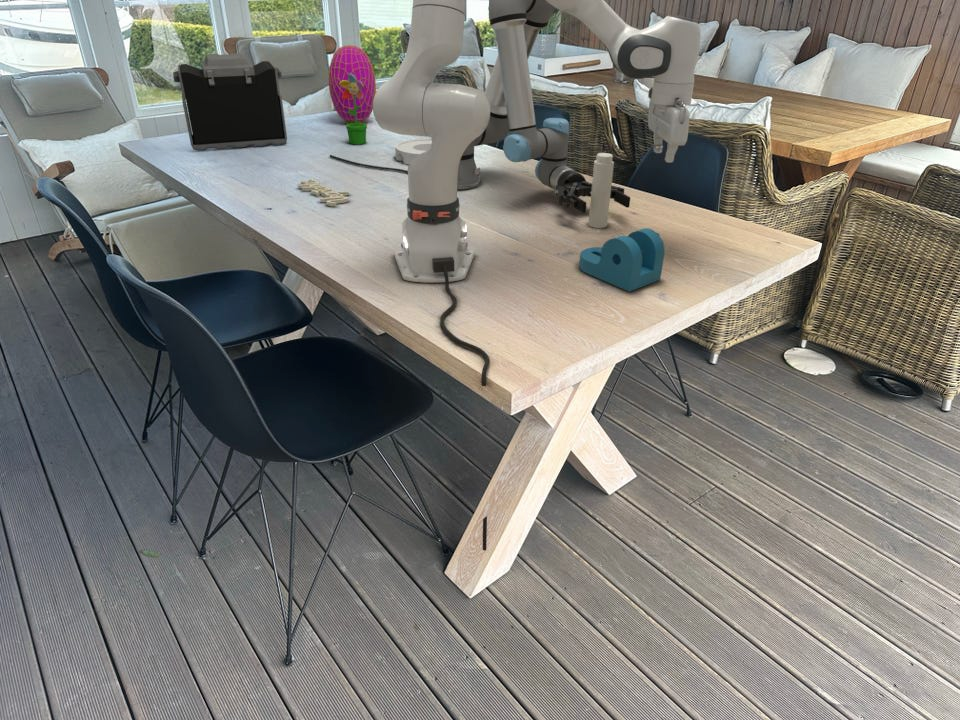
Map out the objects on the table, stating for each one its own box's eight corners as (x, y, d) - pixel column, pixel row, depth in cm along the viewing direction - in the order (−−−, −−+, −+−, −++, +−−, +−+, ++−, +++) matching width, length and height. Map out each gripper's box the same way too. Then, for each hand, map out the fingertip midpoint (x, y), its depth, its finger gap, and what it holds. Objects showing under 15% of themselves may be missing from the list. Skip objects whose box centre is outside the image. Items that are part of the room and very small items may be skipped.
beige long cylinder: (607, 228, 183) (615, 157, 173) (588, 227, 183) (594, 156, 174) (606, 222, 187) (614, 152, 177) (588, 221, 187) (594, 152, 178)
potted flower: (342, 144, 260) (336, 73, 247) (351, 139, 266) (346, 70, 254) (365, 146, 257) (360, 74, 245) (374, 141, 264) (369, 71, 251)
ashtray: (454, 167, 232) (454, 155, 230) (388, 164, 235) (387, 152, 233) (466, 151, 252) (466, 140, 250) (404, 148, 255) (404, 137, 253)
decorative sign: (361, 197, 199) (330, 204, 194) (361, 201, 200) (330, 207, 195) (320, 177, 217) (291, 182, 212) (321, 180, 218) (291, 185, 213)
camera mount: (660, 279, 153) (667, 234, 148) (629, 291, 148) (635, 245, 142) (600, 255, 165) (604, 213, 160) (569, 265, 160) (573, 222, 154)
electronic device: (284, 132, 276) (273, 51, 260) (292, 144, 258) (281, 58, 243) (187, 139, 264) (169, 54, 249) (188, 152, 246) (169, 62, 231)
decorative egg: (362, 116, 305) (357, 42, 290) (386, 123, 292) (382, 46, 277) (324, 121, 294) (316, 45, 279) (347, 129, 281) (340, 49, 266)
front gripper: (700, 102, 147) (689, 167, 154) (672, 88, 165) (664, 147, 171) (671, 102, 147) (662, 167, 153) (646, 88, 164) (639, 147, 171)
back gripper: (604, 191, 202) (645, 213, 185) (528, 200, 194) (563, 224, 177) (607, 166, 198) (649, 186, 181) (529, 173, 190) (565, 195, 173)
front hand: (662, 157), depth 162 cm, fingers open, 8 cm apart
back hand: (607, 205), depth 179 cm, fingers open, 12 cm apart
